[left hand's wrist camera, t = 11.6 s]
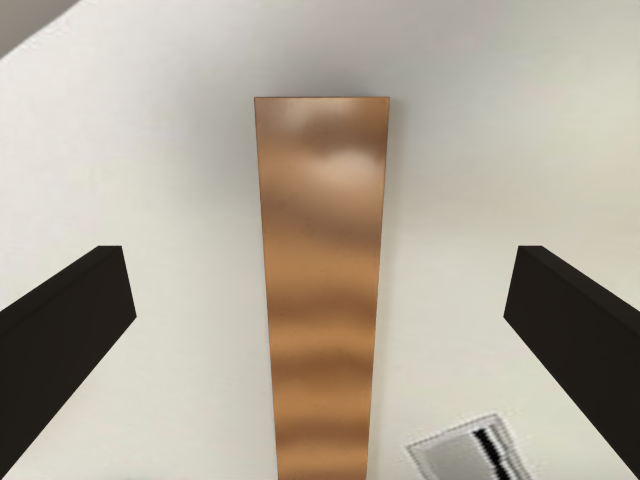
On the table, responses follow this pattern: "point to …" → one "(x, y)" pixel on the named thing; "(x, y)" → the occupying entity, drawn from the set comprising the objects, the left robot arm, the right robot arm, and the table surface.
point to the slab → (321, 274)
